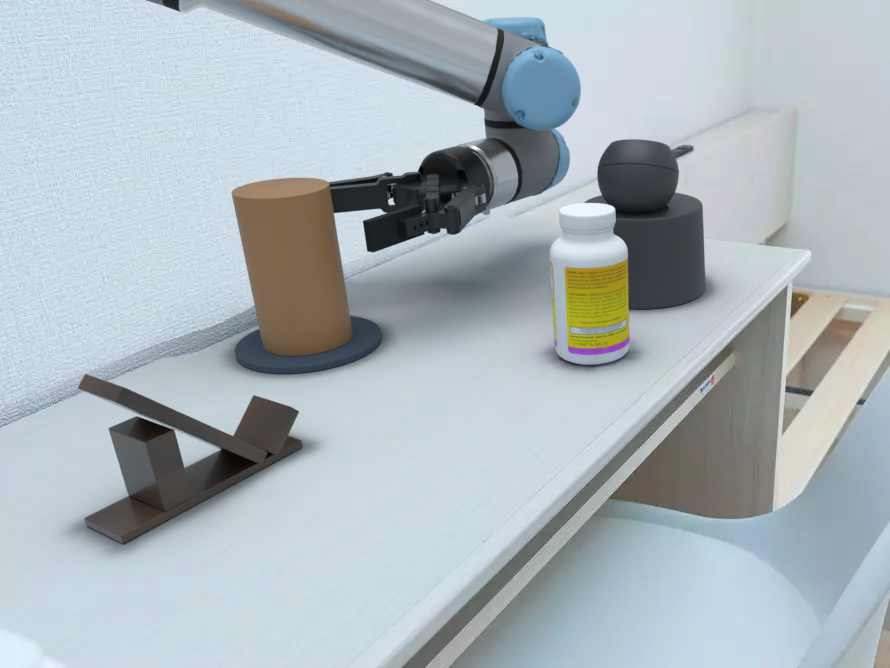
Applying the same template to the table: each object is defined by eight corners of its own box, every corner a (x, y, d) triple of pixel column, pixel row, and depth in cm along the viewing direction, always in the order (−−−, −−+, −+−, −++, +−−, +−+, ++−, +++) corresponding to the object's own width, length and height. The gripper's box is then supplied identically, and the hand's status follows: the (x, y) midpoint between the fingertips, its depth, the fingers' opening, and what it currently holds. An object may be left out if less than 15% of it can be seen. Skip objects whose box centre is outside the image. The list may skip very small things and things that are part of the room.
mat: (205, 356, 81) (203, 350, 81) (315, 312, 91) (314, 306, 91) (303, 385, 75) (302, 378, 74) (410, 334, 84) (410, 328, 84)
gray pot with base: (718, 121, 93) (699, 146, 81) (713, 268, 100) (696, 312, 88) (594, 120, 96) (557, 144, 84) (598, 263, 103) (564, 305, 91)
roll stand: (85, 525, 56) (41, 390, 52) (269, 433, 67) (244, 314, 63) (123, 544, 54) (79, 404, 50) (306, 445, 65) (282, 324, 61)
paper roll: (156, 295, 73) (241, 136, 77) (286, 370, 86) (354, 231, 90) (218, 311, 69) (305, 143, 73) (345, 387, 82) (413, 241, 86)
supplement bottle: (644, 355, 78) (643, 210, 73) (581, 374, 75) (575, 223, 70) (601, 333, 84) (597, 195, 78) (540, 349, 80) (532, 207, 75)
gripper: (563, 228, 92) (422, 288, 76) (386, 203, 104) (232, 250, 88) (560, 154, 88) (411, 199, 72) (377, 137, 101) (216, 173, 85)
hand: (313, 227), depth 80 cm, fingers open, 13 cm apart
